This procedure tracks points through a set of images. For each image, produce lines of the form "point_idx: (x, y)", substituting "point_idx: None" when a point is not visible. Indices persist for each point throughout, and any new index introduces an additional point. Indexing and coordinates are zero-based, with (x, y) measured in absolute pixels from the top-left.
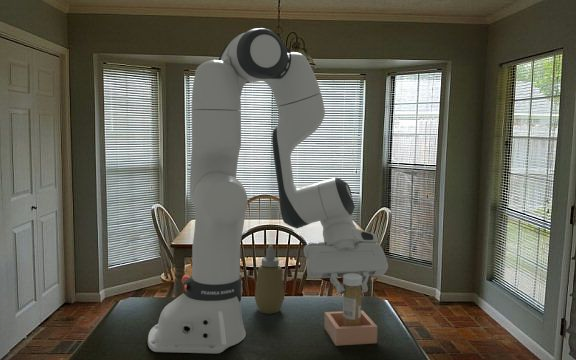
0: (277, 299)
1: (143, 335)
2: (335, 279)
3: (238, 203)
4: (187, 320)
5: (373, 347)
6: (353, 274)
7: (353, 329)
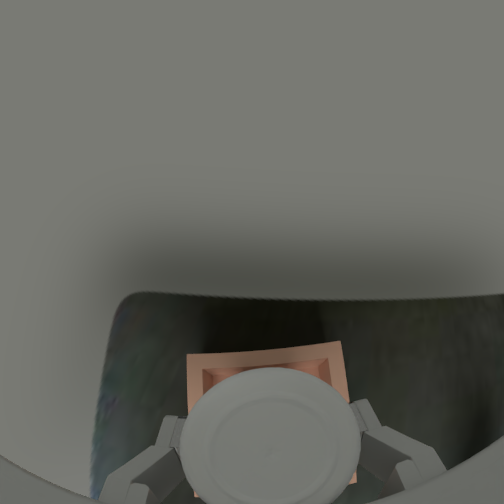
0: None
1: None
2: (407, 444)
3: None
4: None
5: (219, 340)
6: (252, 483)
7: (277, 350)
